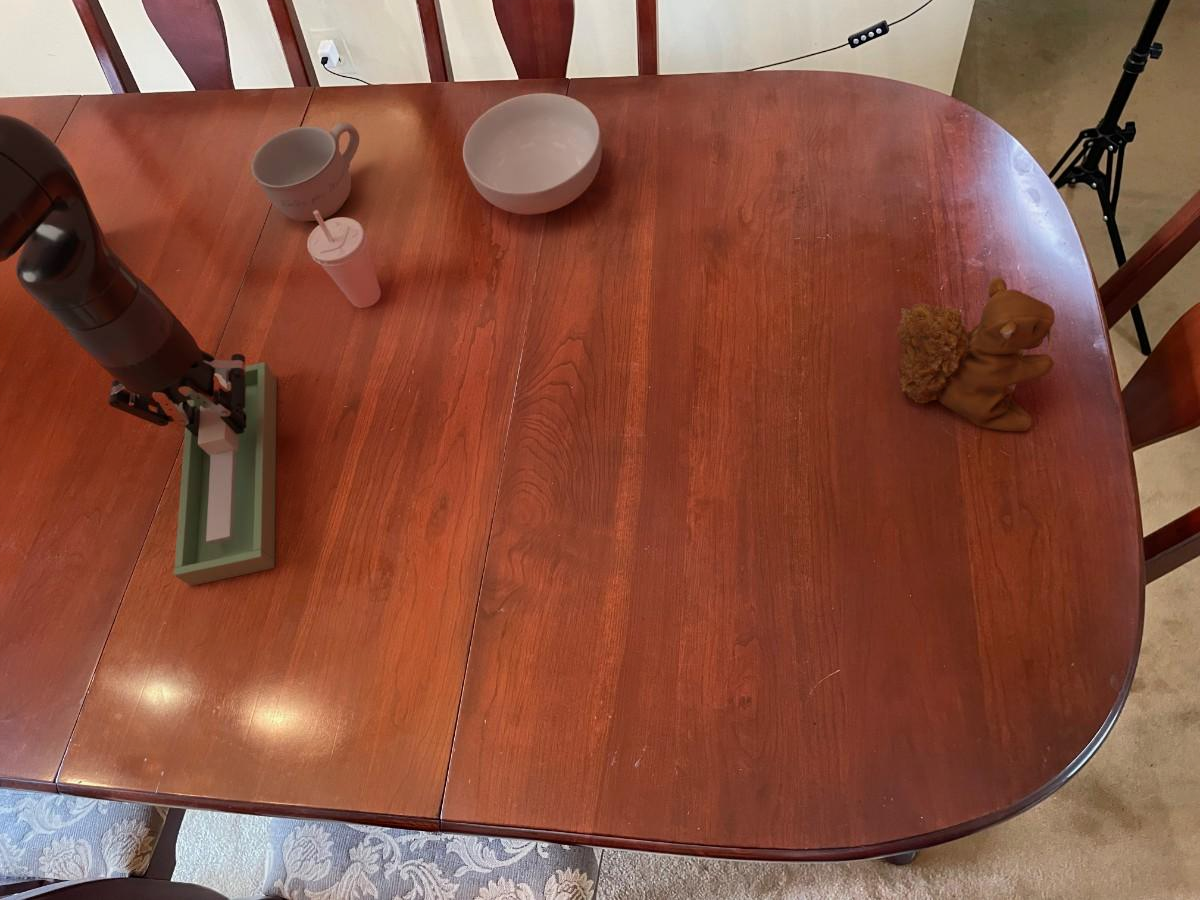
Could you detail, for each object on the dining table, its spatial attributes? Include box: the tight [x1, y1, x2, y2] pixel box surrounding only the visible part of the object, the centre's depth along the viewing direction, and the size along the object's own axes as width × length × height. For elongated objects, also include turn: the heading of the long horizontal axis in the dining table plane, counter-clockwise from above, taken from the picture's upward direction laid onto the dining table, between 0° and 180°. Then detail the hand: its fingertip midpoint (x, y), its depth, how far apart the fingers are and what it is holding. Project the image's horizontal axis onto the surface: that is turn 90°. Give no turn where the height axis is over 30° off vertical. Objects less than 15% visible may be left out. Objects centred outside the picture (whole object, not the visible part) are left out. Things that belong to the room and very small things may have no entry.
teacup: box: [250, 121, 360, 222], centre depth 106 cm, size 14×11×8 cm
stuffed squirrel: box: [896, 277, 1056, 433], centre depth 80 cm, size 10×14×13 cm
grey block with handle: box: [198, 373, 239, 544], centre depth 87 cm, size 19×3×3 cm, turn 11°
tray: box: [173, 361, 278, 587], centre depth 89 cm, size 24×9×3 cm, turn 10°
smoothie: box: [306, 210, 382, 309], centre depth 94 cm, size 6×6×14 cm
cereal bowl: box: [462, 92, 603, 215], centre depth 103 cm, size 17×17×7 cm
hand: (224, 429), depth 89 cm, fingers closed on grey block with handle, 3 cm apart
